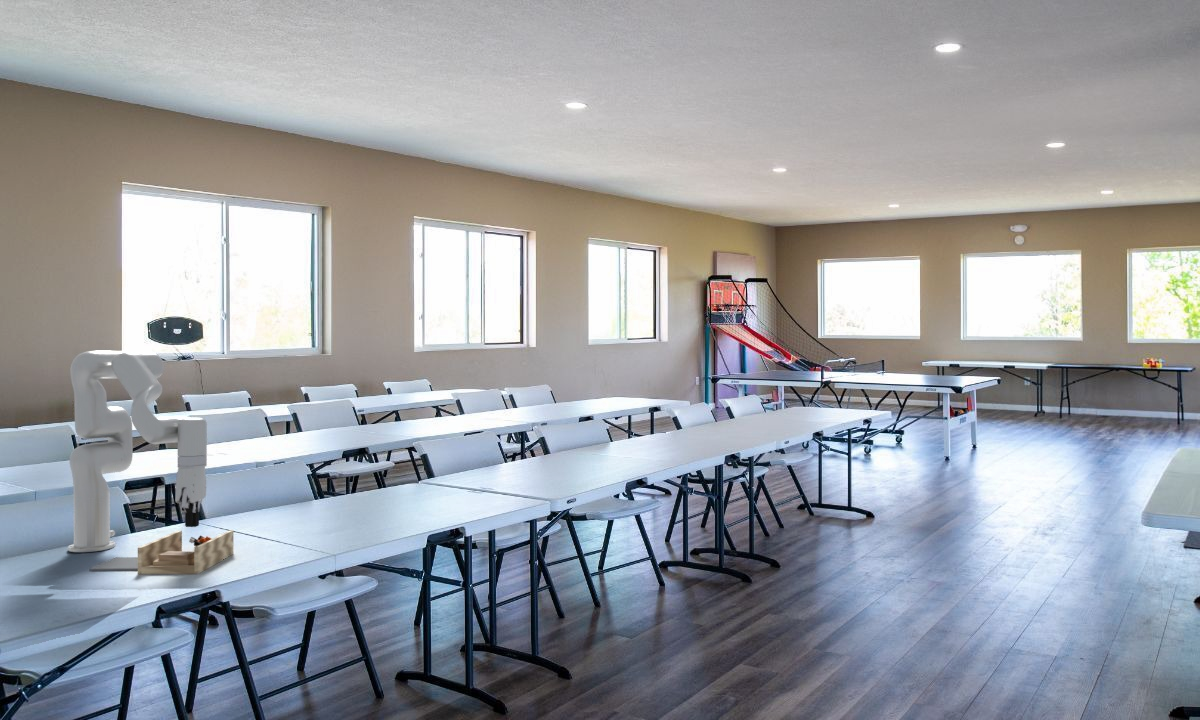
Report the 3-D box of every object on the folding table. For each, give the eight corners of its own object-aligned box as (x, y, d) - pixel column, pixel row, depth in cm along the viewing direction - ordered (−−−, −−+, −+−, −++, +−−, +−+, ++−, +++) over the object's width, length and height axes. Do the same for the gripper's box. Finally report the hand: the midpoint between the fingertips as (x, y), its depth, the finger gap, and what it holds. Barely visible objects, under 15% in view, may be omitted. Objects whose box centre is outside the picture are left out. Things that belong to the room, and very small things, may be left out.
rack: (178, 554, 264) (178, 530, 264) (233, 554, 265) (233, 530, 265) (137, 574, 240) (137, 547, 240) (198, 573, 241) (198, 547, 241)
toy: (196, 533, 256) (198, 524, 270) (183, 551, 255) (186, 541, 269) (222, 547, 259) (222, 537, 273) (209, 565, 258) (210, 554, 272)
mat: (116, 559, 258) (116, 557, 258) (165, 559, 258) (165, 557, 258) (89, 570, 244) (89, 568, 244) (141, 570, 244) (141, 568, 244)
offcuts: (162, 567, 248) (162, 551, 248) (198, 567, 248) (198, 551, 248) (151, 572, 242) (151, 555, 242) (189, 572, 242) (189, 555, 242)
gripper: (190, 458, 263) (190, 521, 263) (166, 464, 248) (166, 531, 248) (216, 458, 263) (216, 521, 263) (194, 464, 248) (193, 531, 248)
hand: (192, 526), depth 256 cm, fingers closed
